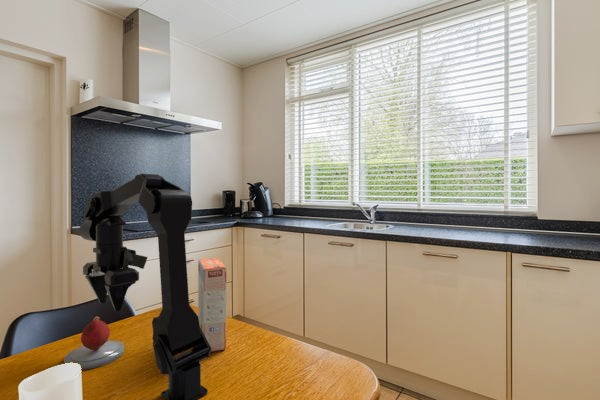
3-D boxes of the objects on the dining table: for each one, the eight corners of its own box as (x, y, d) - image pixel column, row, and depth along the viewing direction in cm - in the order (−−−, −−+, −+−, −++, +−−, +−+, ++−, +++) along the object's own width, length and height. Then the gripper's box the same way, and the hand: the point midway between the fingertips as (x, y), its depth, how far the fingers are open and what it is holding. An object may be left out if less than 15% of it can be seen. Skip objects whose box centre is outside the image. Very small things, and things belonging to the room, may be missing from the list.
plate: (132, 355, 77) (132, 348, 77) (73, 376, 68) (72, 369, 68) (113, 340, 85) (113, 335, 85) (57, 358, 76) (57, 351, 76)
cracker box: (227, 350, 79) (227, 266, 79) (202, 354, 77) (202, 268, 77) (219, 328, 92) (219, 256, 92) (197, 332, 90) (197, 258, 90)
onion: (95, 357, 73) (95, 322, 73) (74, 355, 74) (74, 320, 74) (115, 346, 78) (115, 313, 78) (95, 343, 80) (95, 312, 80)
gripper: (160, 242, 79) (160, 305, 79) (127, 237, 90) (128, 292, 90) (111, 248, 70) (111, 319, 70) (82, 241, 82) (82, 302, 82)
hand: (110, 306), depth 78 cm, fingers open, 9 cm apart
